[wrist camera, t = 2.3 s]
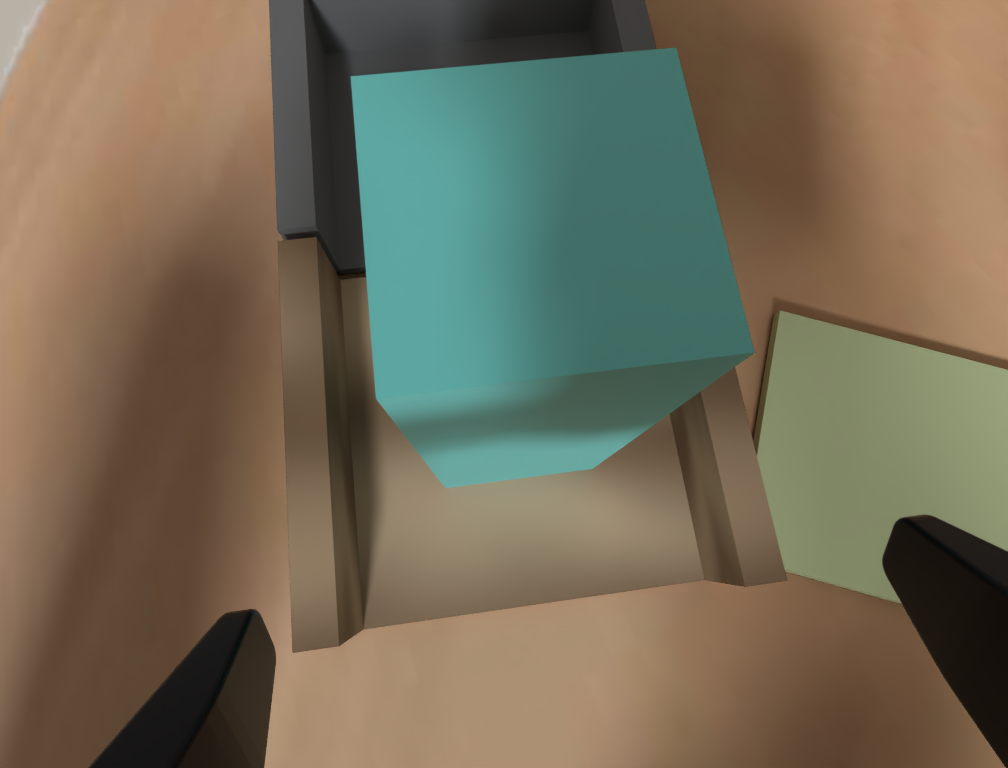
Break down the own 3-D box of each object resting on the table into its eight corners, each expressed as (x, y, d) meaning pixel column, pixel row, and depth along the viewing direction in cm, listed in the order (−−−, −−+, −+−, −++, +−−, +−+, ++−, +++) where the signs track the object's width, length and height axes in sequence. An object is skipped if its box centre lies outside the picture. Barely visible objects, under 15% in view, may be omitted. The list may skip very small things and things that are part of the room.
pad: (1004, 633, 19) (1017, 635, 19) (734, 557, 20) (740, 557, 19) (1015, 378, 21) (1026, 374, 21) (773, 315, 22) (780, 310, 21)
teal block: (592, 468, 20) (754, 352, 8) (445, 488, 20) (375, 398, 7) (568, 331, 21) (676, 47, 9) (430, 347, 21) (350, 76, 9)
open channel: (735, 574, 19) (787, 580, 16) (328, 633, 19) (292, 652, 15) (662, 249, 22) (692, 197, 19) (310, 288, 22) (277, 241, 18)
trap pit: (660, 239, 23) (690, 186, 19) (309, 278, 22) (277, 229, 18) (609, 14, 25) (628, -68, 22) (298, 40, 25) (267, -40, 21)
